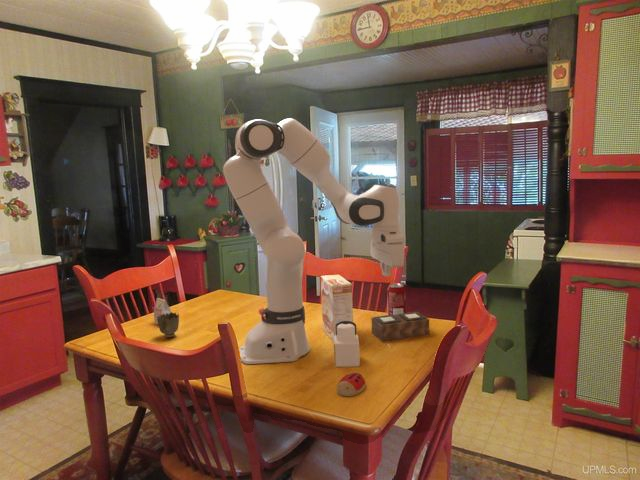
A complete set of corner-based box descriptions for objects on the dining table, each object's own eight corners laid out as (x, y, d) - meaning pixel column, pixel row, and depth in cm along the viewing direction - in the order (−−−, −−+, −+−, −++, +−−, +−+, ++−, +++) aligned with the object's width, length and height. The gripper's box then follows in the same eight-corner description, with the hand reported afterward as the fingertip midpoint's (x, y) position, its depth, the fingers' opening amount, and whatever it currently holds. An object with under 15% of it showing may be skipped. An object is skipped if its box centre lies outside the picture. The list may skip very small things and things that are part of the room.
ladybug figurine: (331, 395, 122) (330, 382, 121) (348, 379, 130) (347, 367, 130) (355, 400, 119) (355, 387, 118) (371, 384, 127) (370, 371, 127)
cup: (154, 337, 169) (152, 316, 168) (173, 332, 174) (171, 310, 173) (165, 342, 164) (163, 319, 163) (184, 336, 169) (182, 314, 168)
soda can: (405, 318, 179) (405, 287, 177) (387, 318, 180) (386, 287, 178) (405, 313, 185) (405, 282, 183) (388, 312, 187) (387, 282, 185)
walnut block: (381, 341, 156) (381, 324, 155) (371, 333, 165) (371, 316, 164) (429, 335, 160) (429, 318, 160) (417, 327, 169) (417, 310, 168)
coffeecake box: (322, 329, 171) (319, 275, 168) (341, 327, 173) (339, 273, 170) (333, 343, 157) (331, 285, 154) (354, 341, 158) (352, 283, 155)
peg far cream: (409, 334, 161) (409, 318, 161) (404, 330, 165) (404, 314, 164) (420, 333, 162) (420, 316, 162) (415, 329, 166) (415, 313, 165)
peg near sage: (384, 338, 159) (384, 321, 158) (380, 334, 163) (379, 317, 162) (395, 336, 160) (395, 320, 159) (390, 332, 164) (390, 316, 163)
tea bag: (163, 321, 187) (161, 296, 186) (172, 325, 183) (170, 299, 181) (154, 323, 185) (152, 298, 183) (163, 327, 180) (160, 301, 179)
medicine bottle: (334, 357, 145) (333, 319, 143) (358, 357, 145) (357, 318, 143) (334, 367, 138) (333, 327, 136) (359, 366, 138) (358, 326, 136)
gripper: (365, 231, 166) (366, 270, 168) (388, 238, 146) (389, 283, 148) (382, 229, 167) (383, 268, 169) (407, 237, 148) (408, 281, 150)
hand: (386, 275), depth 159 cm, fingers closed
